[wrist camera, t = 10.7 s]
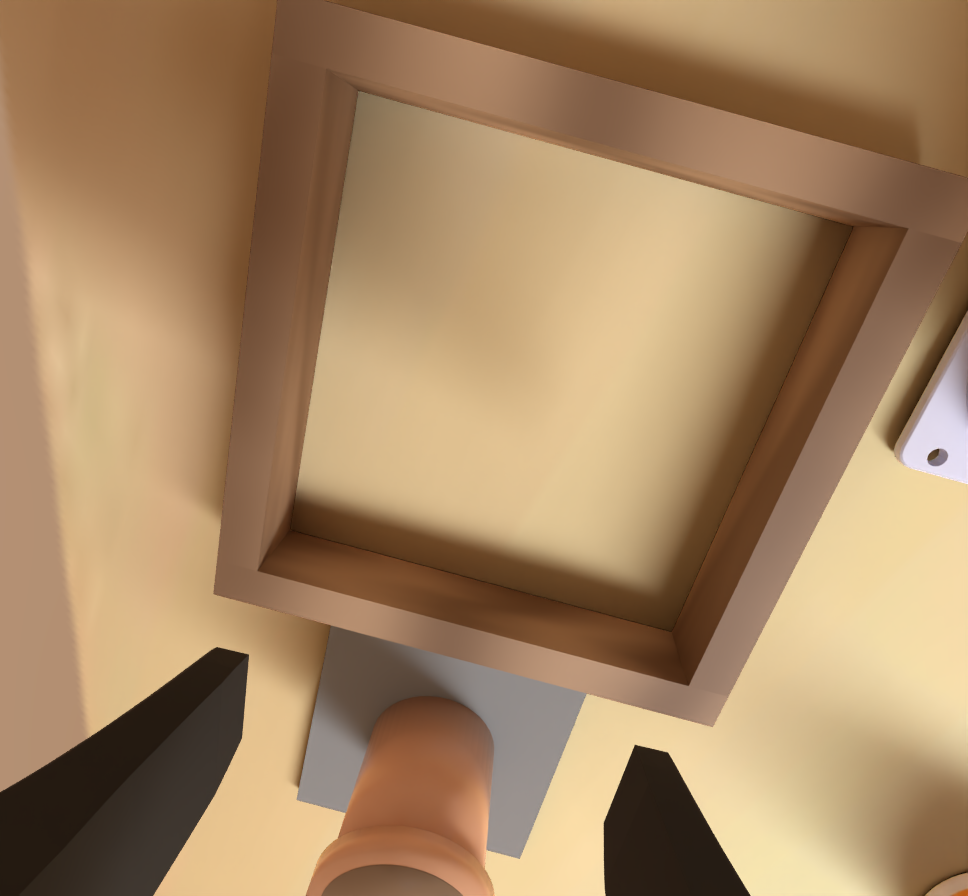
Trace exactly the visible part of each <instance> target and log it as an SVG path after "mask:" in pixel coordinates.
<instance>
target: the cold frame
mask: <svg viewBox="0 0 968 896" xmlns="http://www.w3.org/2000/svg"><path fill="white" fill-rule="evenodd" d="M358 91H362V92H366V93H369V94H373V95H377V96H380V97H384V98H387V99H391V100H395V101H398V102H402V103H406V104H409V105H413V106H417V107H420V108H424V109H428V110H431V111H435V112H438V113H442V114H446V115H449V116H453V117H457V118H460V119H464V120H468V121H471V122H475V123H479V124H482V125H486V126H489V127H493V128H497V129H500V130H504V131H508V132H511V133H515V134H519V135H522V136H526V137H530V138H533V139H537V140H541V141H544V142H548V143H551V144H555V145H559V146H562V147H566V148H570V149H573V150H577V151H581V152H584V153H588V154H592V155H595V156H599V157H602V158H606V159H610V160H613V161H617V162H621V163H624V164H628V165H632V166H635V167H639V168H643V169H646V170H650V171H653V172H657V173H661V174H664V175H668V176H672V177H675V178H679V179H683V180H686V181H690V182H694V183H697V184H701V185H705V186H708V187H712V188H715V189H719V190H723V191H726V192H730V193H734V194H737V195H741V196H745V197H748V198H752V199H756V200H759V201H763V202H766V203H770V204H774V205H777V206H781V207H785V208H788V209H792V210H796V211H799V212H803V213H807V214H810V215H814V216H817V217H821V218H825V219H828V220H832V221H836V222H839V223H843V224H847V225H850V226H854V228H853V230H852V232H851V234H850V237H849V239H848V241H847V243H846V245H845V248H844V250H843V252H842V254H841V257H840V259H839V261H838V263H837V266H836V268H835V270H834V272H833V274H832V277H831V279H830V281H829V283H828V286H827V288H826V290H825V292H824V294H823V297H822V299H821V301H820V303H819V306H818V308H817V310H816V312H815V315H814V317H813V319H812V321H811V323H810V326H809V328H808V330H807V332H806V335H805V337H804V339H803V341H802V343H801V346H800V348H799V350H798V352H797V355H796V357H795V359H794V361H793V364H792V366H791V368H790V370H789V372H788V375H787V377H786V379H785V381H784V384H783V386H782V388H781V390H780V392H779V395H778V397H777V399H776V401H775V404H774V406H773V408H772V410H771V413H770V415H769V417H768V419H767V421H766V424H765V426H764V428H763V430H762V433H761V435H760V437H759V439H758V441H757V444H756V446H755V448H754V450H753V453H752V455H751V457H750V459H749V462H748V464H747V466H746V468H745V470H744V473H743V475H742V477H741V479H740V482H739V484H738V486H737V488H736V490H735V493H734V495H733V497H732V499H731V502H730V504H729V506H728V508H727V511H726V513H725V515H724V517H723V519H722V522H721V524H720V526H719V528H718V531H717V533H716V535H715V537H714V539H713V542H712V544H711V546H710V548H709V551H708V553H707V555H706V557H705V560H704V562H703V564H702V566H701V568H700V571H699V573H698V575H697V577H696V580H695V582H694V584H693V586H692V588H691V591H690V593H689V595H688V597H687V600H686V602H685V604H684V606H683V609H682V611H681V613H680V615H679V617H678V620H677V622H676V624H675V626H674V629H673V631H672V632H669V631H665V630H661V629H657V628H654V627H650V626H646V625H642V624H639V623H635V622H631V621H628V620H624V619H620V618H616V617H613V616H609V615H605V614H601V613H598V612H594V611H590V610H586V609H583V608H579V607H575V606H571V605H568V604H564V603H560V602H557V601H553V600H549V599H545V598H542V597H538V596H534V595H530V594H527V593H523V592H519V591H515V590H512V589H508V588H504V587H500V586H497V585H493V584H489V583H486V582H482V581H478V580H474V579H471V578H467V577H463V576H459V575H456V574H452V573H448V572H444V571H441V570H437V569H433V568H429V567H426V566H422V565H418V564H414V563H411V562H407V561H403V560H400V559H396V558H392V557H388V556H385V555H381V554H377V553H373V552H370V551H366V550H362V549H358V548H355V547H351V546H347V545H343V544H340V543H336V542H332V541H329V540H325V539H321V538H317V537H314V536H310V535H306V534H302V533H299V532H295V531H291V530H290V526H291V520H292V514H293V507H294V501H295V494H296V488H297V481H298V475H299V469H300V462H301V456H302V449H303V443H304V436H305V430H306V424H307V417H308V411H309V404H310V398H311V391H312V385H313V379H314V372H315V366H316V359H317V353H318V346H319V340H320V334H321V327H322V321H323V314H324V308H325V301H326V295H327V288H328V282H329V276H330V269H331V263H332V256H333V250H334V243H335V237H336V231H337V224H338V218H339V211H340V205H341V198H342V192H343V186H344V179H345V173H346V166H347V160H348V153H349V147H350V141H351V134H352V128H353V121H354V115H355V108H356V102H357V96H358ZM967 232H968V178H967V177H963V176H959V175H956V174H952V173H948V172H945V171H941V170H938V169H934V168H930V167H927V166H923V165H919V164H916V163H912V162H908V161H905V160H901V159H898V158H894V157H890V156H887V155H883V154H879V153H876V152H872V151H869V150H865V149H861V148H858V147H854V146H850V145H847V144H843V143H840V142H836V141H832V140H829V139H825V138H821V137H818V136H814V135H811V134H807V133H803V132H800V131H796V130H792V129H789V128H785V127H781V126H778V125H774V124H771V123H767V122H763V121H760V120H756V119H752V118H749V117H745V116H742V115H738V114H734V113H731V112H727V111H723V110H720V109H716V108H713V107H709V106H705V105H702V104H698V103H694V102H691V101H687V100H684V99H680V98H676V97H673V96H669V95H665V94H662V93H658V92H654V91H651V90H647V89H644V88H640V87H636V86H633V85H629V84H625V83H622V82H618V81H615V80H611V79H607V78H604V77H600V76H596V75H593V74H589V73H586V72H582V71H578V70H575V69H571V68H567V67H564V66H560V65H557V64H553V63H549V62H546V61H542V60H538V59H535V58H531V57H527V56H524V55H520V54H517V53H513V52H509V51H506V50H502V49H498V48H495V47H491V46H488V45H484V44H480V43H477V42H473V41H469V40H466V39H462V38H459V37H455V36H451V35H448V34H444V33H440V32H437V31H433V30H430V29H426V28H422V27H419V26H415V25H411V24H408V23H404V22H401V21H397V20H393V19H390V18H386V17H382V16H379V15H375V14H371V13H368V12H364V11H361V10H357V9H353V8H350V7H346V6H342V5H339V4H335V3H332V2H328V1H324V0H278V1H277V10H276V19H275V28H274V38H273V47H272V56H271V66H270V75H269V84H268V93H267V103H266V112H265V121H264V130H263V140H262V149H261V158H260V168H259V177H258V186H257V195H256V205H255V214H254V223H253V232H252V242H251V251H250V260H249V270H248V279H247V288H246V297H245V307H244V316H243V325H242V335H241V344H240V353H239V362H238V372H237V381H236V390H235V399H234V409H233V418H232V427H231V437H230V446H229V455H228V464H227V474H226V483H225V492H224V501H223V511H222V520H221V529H220V539H219V548H218V557H217V566H216V576H215V585H214V594H215V595H219V596H223V597H226V598H230V599H234V600H238V601H241V602H245V603H249V604H253V605H256V606H260V607H264V608H268V609H271V610H275V611H279V612H283V613H286V614H290V615H294V616H298V617H301V618H305V619H309V620H313V621H316V622H320V623H324V624H328V625H331V626H335V627H339V628H343V629H346V630H350V631H354V632H358V633H361V634H365V635H369V636H373V637H376V638H380V639H384V640H388V641H392V642H395V643H399V644H403V645H407V646H410V647H414V648H418V649H422V650H425V651H429V652H433V653H437V654H440V655H444V656H448V657H452V658H455V659H459V660H463V661H467V662H470V663H474V664H478V665H482V666H485V667H489V668H493V669H497V670H500V671H504V672H508V673H512V674H515V675H519V676H523V677H527V678H530V679H534V680H538V681H542V682H545V683H549V684H553V685H557V686H560V687H564V688H568V689H572V690H576V691H579V692H583V693H587V694H591V695H594V696H598V697H602V698H606V699H609V700H613V701H617V702H621V703H624V704H628V705H632V706H636V707H639V708H643V709H647V710H651V711H654V712H658V713H662V714H666V715H669V716H673V717H677V718H681V719H684V720H688V721H692V722H696V723H699V724H703V725H707V726H711V727H713V725H714V723H715V722H716V720H717V718H718V716H719V714H720V712H721V710H722V708H723V706H724V704H725V702H726V700H727V698H728V696H729V694H730V692H731V690H732V689H733V687H734V685H735V683H736V681H737V679H738V677H739V675H740V673H741V671H742V669H743V667H744V665H745V663H746V661H747V659H748V657H749V656H750V654H751V652H752V650H753V648H754V646H755V644H756V642H757V640H758V638H759V636H760V634H761V632H762V630H763V628H764V626H765V624H766V623H767V621H768V619H769V617H770V615H771V613H772V611H773V609H774V607H775V605H776V603H777V601H778V599H779V597H780V595H781V593H782V591H783V590H784V588H785V586H786V584H787V582H788V580H789V578H790V576H791V574H792V572H793V570H794V568H795V566H796V564H797V562H798V560H799V558H800V557H801V555H802V553H803V551H804V549H805V547H806V545H807V543H808V541H809V539H810V537H811V535H812V533H813V531H814V529H815V527H816V525H817V524H818V522H819V520H820V518H821V516H822V514H823V512H824V510H825V508H826V506H827V504H828V502H829V500H830V498H831V496H832V494H833V492H834V491H835V489H836V487H837V485H838V483H839V481H840V479H841V477H842V475H843V473H844V471H845V469H846V467H847V465H848V463H849V461H850V459H851V458H852V456H853V454H854V452H855V450H856V448H857V446H858V444H859V442H860V440H861V438H862V436H863V434H864V432H865V430H866V428H867V426H868V425H869V423H870V421H871V419H872V417H873V415H874V413H875V411H876V409H877V407H878V405H879V403H880V401H881V399H882V397H883V395H884V393H885V392H886V390H887V388H888V386H889V384H890V382H891V380H892V378H893V376H894V374H895V372H896V370H897V368H898V366H899V364H900V362H901V360H902V359H903V357H904V355H905V353H906V351H907V349H908V347H909V345H910V343H911V341H912V339H913V337H914V335H915V333H916V331H917V329H918V327H919V326H920V324H921V322H922V320H923V318H924V316H925V314H926V312H927V310H928V308H929V306H930V304H931V302H932V300H933V298H934V296H935V295H936V293H937V291H938V289H939V287H940V285H941V283H942V281H943V279H944V277H945V275H946V273H947V271H948V269H949V267H950V265H951V263H952V262H953V260H954V258H955V256H956V254H957V252H958V250H959V248H960V246H961V244H962V242H963V240H964V238H965V236H966V234H967Z"/></svg>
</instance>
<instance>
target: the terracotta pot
mask: <svg viewBox="0 0 968 896" xmlns="http://www.w3.org/2000/svg"><path fill="white" fill-rule="evenodd" d="M493 762H494V741H493V738H492V735H491V732H490V730H489V729H488V727H487V725H486V724H485V723H484V721H483V720H482V719H481V718H480V717H479V716H478V715H477V714H476V713H474V712H473V711H472V710H470V709H469V708H467V707H465V706H464V705H462V704H460V703H457V702H455V701H452V700H449V699H446V698H441V697H433V696H419V697H412V698H408V699H404V700H401V701H399V702H397V703H395V704H393V705H391V706H390V707H388V708H387V709H386V710H385V711H384V712H383V713H382V714H381V715H380V716H379V717H378V719H377V721H376V723H375V725H374V728H373V731H372V734H371V737H370V740H369V743H368V746H367V749H366V752H365V755H364V759H363V762H362V765H361V768H360V771H359V774H358V777H357V780H356V783H355V787H354V790H353V793H352V796H351V799H350V802H349V805H348V808H347V811H346V814H345V818H344V821H343V824H342V827H341V830H340V833H339V836H338V839H336V840H335V841H333V842H332V843H331V844H330V845H329V846H328V847H327V848H326V849H325V850H324V851H323V853H322V854H321V856H320V858H319V859H318V861H317V864H316V867H315V870H314V873H313V876H312V879H311V882H310V885H309V888H308V890H307V894H306V896H494V889H493V885H492V882H491V880H490V878H489V876H488V874H487V872H486V870H485V859H486V847H487V835H488V823H489V811H490V798H491V786H492V774H493Z"/></svg>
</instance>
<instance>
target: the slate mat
mask: <svg viewBox="0 0 968 896" xmlns="http://www.w3.org/2000/svg"><path fill="white" fill-rule="evenodd" d="M586 694H587V693H583V692H579V691H576V690H572V689H568V688H564V687H560V686H557V685H553V684H549V683H545V682H542V681H538V680H534V679H530V678H527V677H523V676H519V675H515V674H512V673H508V672H504V671H500V670H497V669H493V668H489V667H485V666H482V665H478V664H474V663H470V662H467V661H463V660H459V659H455V658H452V657H448V656H444V655H440V654H437V653H433V652H429V651H425V650H422V649H418V648H414V647H410V646H407V645H403V644H399V643H395V642H392V641H388V640H384V639H380V638H376V637H373V636H369V635H365V634H361V633H358V632H354V631H350V630H346V629H343V628H339V627H335V626H331V628H330V633H329V638H328V643H327V648H326V653H325V658H324V663H323V668H322V674H321V679H320V684H319V689H318V694H317V699H316V704H315V709H314V714H313V719H312V724H311V730H310V735H309V740H308V745H307V750H306V755H305V760H304V765H303V770H302V775H301V780H300V785H299V791H298V796H297V800H299V801H302V802H306V803H310V804H314V805H318V806H321V807H325V808H329V809H333V810H337V811H340V812H344V813H346V811H347V808H348V805H349V802H350V799H351V796H352V793H353V790H354V787H355V783H356V780H357V777H358V774H359V771H360V768H361V765H362V762H363V759H364V755H365V752H366V749H367V746H368V743H369V740H370V737H371V734H372V731H373V728H374V725H375V723H376V721H377V719H378V717H379V716H380V715H381V714H382V713H383V712H384V711H385V710H386V709H387V708H388V707H390V706H391V705H393V704H395V703H397V702H399V701H401V700H404V699H408V698H412V697H419V696H433V697H441V698H446V699H449V700H452V701H455V702H457V703H460V704H462V705H464V706H465V707H467V708H469V709H470V710H472V711H473V712H474V713H476V714H477V715H478V716H479V717H480V718H481V719H482V720H483V721H484V723H485V724H486V725H487V727H488V729H489V730H490V732H491V735H492V738H493V741H494V762H493V774H492V786H491V798H490V811H489V823H488V835H487V847H486V850H488V851H492V852H496V853H500V854H503V855H507V856H511V857H515V858H519V859H520V857H521V855H522V852H523V850H524V847H525V845H526V842H527V840H528V837H529V835H530V832H531V830H532V827H533V825H534V822H535V820H536V818H537V815H538V813H539V810H540V808H541V805H542V803H543V800H544V798H545V795H546V793H547V790H548V788H549V785H550V783H551V780H552V778H553V775H554V773H555V771H556V768H557V766H558V763H559V761H560V758H561V756H562V753H563V751H564V748H565V746H566V743H567V741H568V738H569V736H570V733H571V731H572V728H573V726H574V724H575V721H576V719H577V716H578V714H579V711H580V709H581V706H582V704H583V701H584V699H585V696H586Z"/></svg>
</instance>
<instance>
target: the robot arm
mask: <svg viewBox="0 0 968 896" xmlns="http://www.w3.org/2000/svg"><path fill="white" fill-rule="evenodd" d="M935 449H939V454H938V456H937V457H936V458H935V459H933V460H931V461H927V458H928V455H929V454H930V452H931V451H933V450H935ZM894 455H895V457H896V459H897V460H898V461H899V462H900V463H902V464H903V465H905V466H907V467H909V468H911V469H915V470H918V471H922V472H926V473H929V474H933V475H937V476H940V477H944V478H948V479H952V480H955V481H959V482H963V483H966V484H968V311H967V313H966V314H965V316H964V318H963V320H962V322H961V324H960V326H959V327H958V329H957V331H956V333H955V335H954V337H953V339H952V340H951V342H950V344H949V346H948V348H947V350H946V352H945V353H944V355H943V357H942V359H941V361H940V363H939V364H938V366H937V368H936V370H935V372H934V374H933V376H932V377H931V379H930V381H929V383H928V385H927V387H926V389H925V390H924V392H923V394H922V396H921V398H920V400H919V402H918V403H917V405H916V407H915V409H914V411H913V413H912V415H911V416H910V418H909V420H908V422H907V424H906V426H905V428H904V429H903V431H902V433H901V435H900V437H899V439H898V441H897V442H896V445H895V448H894ZM248 660H249V655H248V654H244V653H240V652H235V651H231V650H227V649H222V648H218V647H216V648H214V649H213V650H211V651H209V652H208V653H207V654H205V655H204V656H203V657H201V658H200V659H199V660H197V661H196V662H195V663H193V664H192V665H191V666H189V667H188V668H187V669H185V670H184V671H183V672H181V673H180V674H179V675H177V676H176V677H175V678H173V679H172V680H171V681H169V682H168V683H166V684H165V685H164V686H162V687H161V688H160V689H158V690H157V691H156V692H154V693H153V694H151V695H150V696H149V697H147V698H146V699H144V700H143V701H142V702H140V703H139V704H137V705H136V706H134V707H133V708H132V709H130V710H129V711H127V712H126V713H124V714H123V715H122V716H120V717H119V718H117V719H116V720H114V721H113V722H112V723H110V724H109V725H107V726H106V727H104V728H103V729H101V730H100V731H98V732H97V733H95V734H94V735H92V736H91V737H89V738H88V739H86V740H84V741H83V742H81V743H80V744H78V745H77V746H75V747H74V748H72V749H70V750H69V751H67V752H66V753H64V754H63V755H61V756H60V757H58V758H56V759H55V760H53V761H52V762H50V763H49V764H47V765H45V766H44V767H42V768H41V769H39V770H37V771H36V772H34V773H32V774H31V775H29V776H27V777H26V778H24V779H22V780H21V781H19V782H17V783H16V784H14V785H12V786H10V787H9V788H7V789H5V790H3V791H2V792H0V896H153V895H154V893H155V892H156V890H157V888H158V887H159V885H160V884H161V882H162V880H163V879H164V877H165V876H166V874H167V872H168V871H169V869H170V867H171V866H172V864H173V863H174V861H175V859H176V858H177V856H178V854H179V853H180V851H181V850H182V848H183V846H184V845H185V843H186V841H187V840H188V838H189V837H190V835H191V833H192V832H193V830H194V828H195V827H196V825H197V823H198V822H199V820H200V819H201V817H202V815H203V814H204V812H205V810H206V809H207V807H208V805H209V804H210V802H211V800H212V799H213V797H214V795H215V793H216V791H217V789H218V787H219V785H220V783H221V781H222V779H223V777H224V775H225V773H226V771H227V769H228V767H229V765H230V763H231V760H232V758H233V756H234V754H235V752H236V750H237V748H238V745H239V743H240V741H241V739H242V731H243V719H244V708H245V696H246V684H247V672H248ZM604 880H605V894H606V896H750V894H749V892H748V891H747V889H746V888H745V886H744V884H743V883H742V881H741V879H740V878H739V876H738V874H737V873H736V871H735V869H734V868H733V866H732V864H731V863H730V861H729V859H728V858H727V856H726V854H725V853H724V851H723V849H722V848H721V846H720V844H719V842H718V841H717V839H716V837H715V835H714V834H713V832H712V830H711V828H710V827H709V825H708V823H707V821H706V820H705V818H704V816H703V814H702V812H701V811H700V809H699V807H698V805H697V804H696V802H695V800H694V798H693V796H692V795H691V793H690V791H689V789H688V787H687V785H686V784H685V782H684V780H683V778H682V776H681V775H680V773H679V771H678V769H677V767H676V766H675V764H674V762H673V760H672V758H671V757H670V755H669V753H667V752H663V751H659V750H655V749H650V748H646V747H642V746H638V745H635V746H634V749H633V751H632V754H631V756H630V759H629V761H628V764H627V766H626V769H625V771H624V774H623V776H622V779H621V781H620V784H619V786H618V789H617V791H616V794H615V796H614V799H613V801H612V804H611V806H610V809H609V811H608V814H607V816H606V819H605V821H604Z"/></svg>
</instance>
